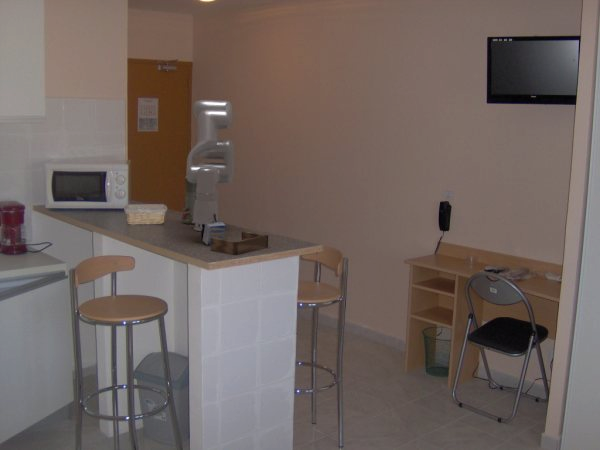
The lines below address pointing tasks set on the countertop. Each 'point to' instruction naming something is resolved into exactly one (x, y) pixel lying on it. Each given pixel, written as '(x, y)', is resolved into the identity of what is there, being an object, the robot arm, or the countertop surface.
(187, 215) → the bottle
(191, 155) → the robot arm
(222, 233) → the medicine box
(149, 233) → the countertop surface
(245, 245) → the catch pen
